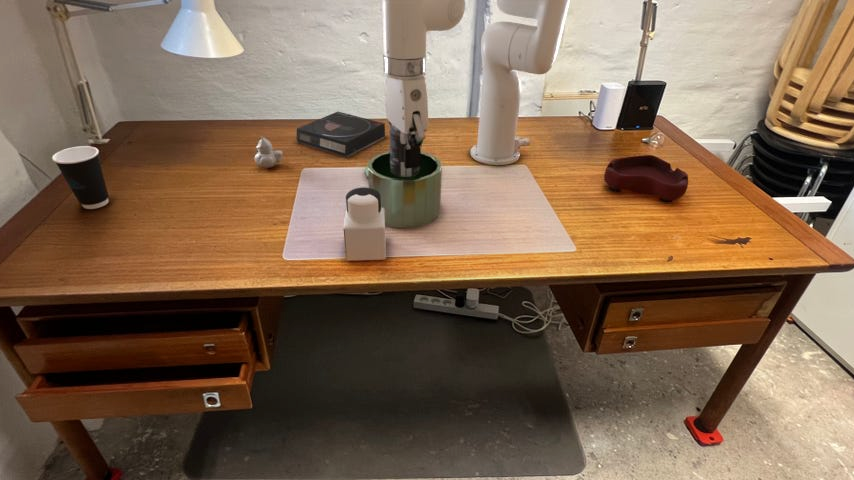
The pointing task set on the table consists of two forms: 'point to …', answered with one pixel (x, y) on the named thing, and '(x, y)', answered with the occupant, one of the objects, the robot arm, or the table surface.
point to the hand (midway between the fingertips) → (405, 159)
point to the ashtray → (646, 177)
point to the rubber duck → (267, 154)
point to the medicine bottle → (364, 225)
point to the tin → (407, 191)
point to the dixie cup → (83, 175)
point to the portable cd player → (341, 133)
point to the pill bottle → (400, 154)
